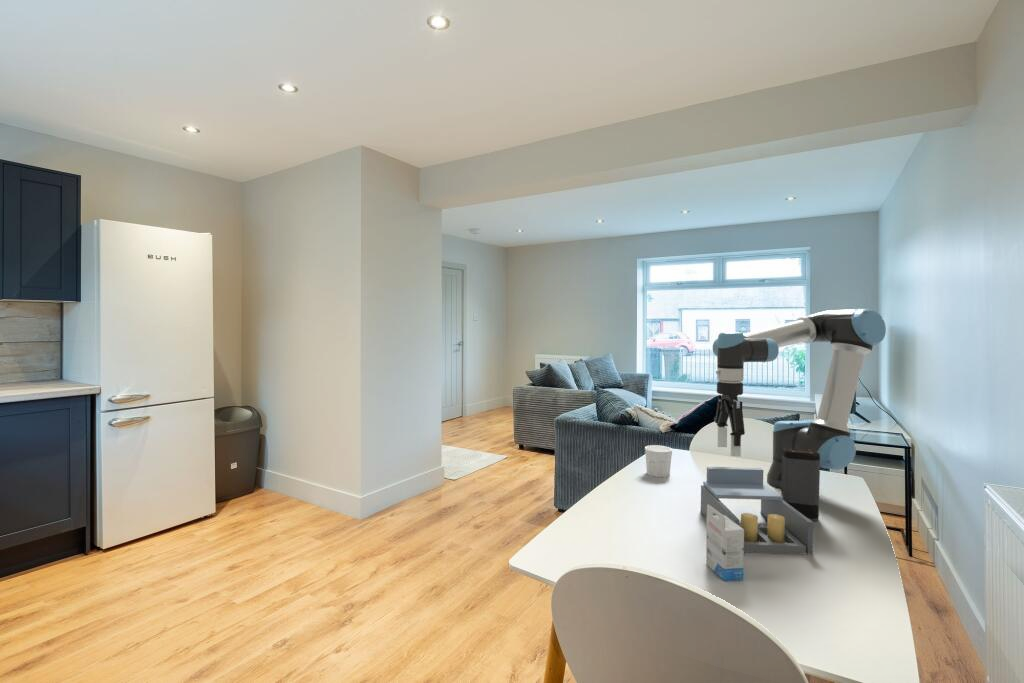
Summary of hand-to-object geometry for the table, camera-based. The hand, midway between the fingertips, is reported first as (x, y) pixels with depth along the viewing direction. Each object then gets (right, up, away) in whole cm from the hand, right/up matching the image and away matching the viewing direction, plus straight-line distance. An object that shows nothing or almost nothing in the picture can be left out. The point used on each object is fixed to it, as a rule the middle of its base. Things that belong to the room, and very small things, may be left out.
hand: (728, 451), depth 153 cm
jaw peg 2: (+1, -19, -25) cm, 31 cm away
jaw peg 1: (-5, -19, -24) cm, 31 cm away
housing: (-1, -18, -17) cm, 25 cm away
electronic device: (+18, -18, -7) cm, 27 cm away
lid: (-1, -10, -10) cm, 14 cm away
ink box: (-19, -19, -39) cm, 48 cm away
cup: (-12, -17, +35) cm, 40 cm away
